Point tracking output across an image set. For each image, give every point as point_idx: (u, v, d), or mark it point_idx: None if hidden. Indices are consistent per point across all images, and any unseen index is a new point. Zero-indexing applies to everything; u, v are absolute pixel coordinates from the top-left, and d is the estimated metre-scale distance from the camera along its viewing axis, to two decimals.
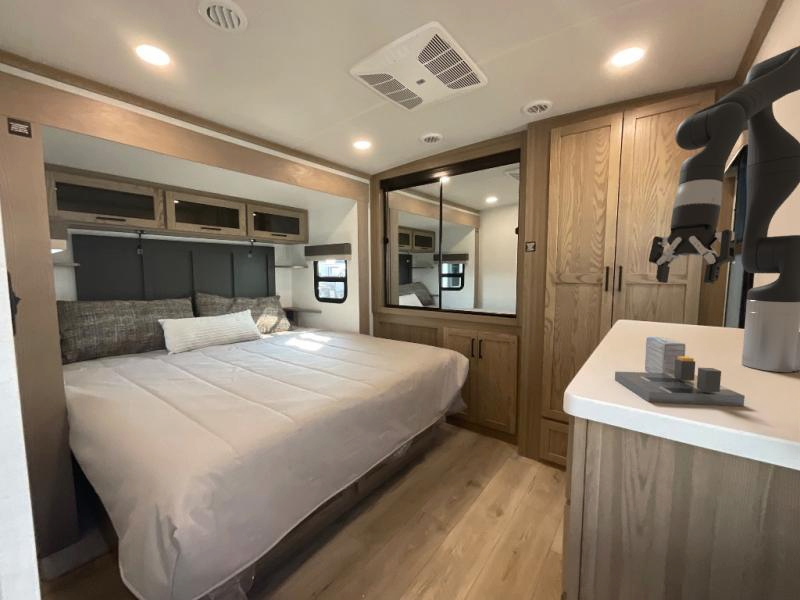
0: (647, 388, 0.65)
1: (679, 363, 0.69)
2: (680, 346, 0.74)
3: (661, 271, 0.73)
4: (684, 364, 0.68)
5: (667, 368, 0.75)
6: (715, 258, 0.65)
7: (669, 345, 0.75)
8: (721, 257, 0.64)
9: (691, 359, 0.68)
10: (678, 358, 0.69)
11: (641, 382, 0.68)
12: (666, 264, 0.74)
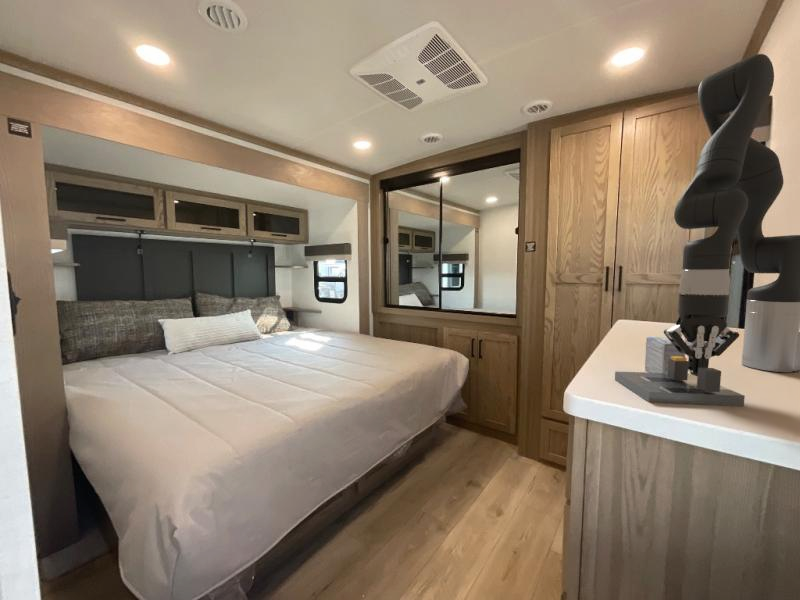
0: (647, 388, 0.65)
1: (672, 363, 0.69)
2: None
3: (701, 365, 0.67)
4: (677, 364, 0.68)
5: (667, 368, 0.75)
6: None
7: (669, 345, 0.75)
8: (716, 353, 0.67)
9: (684, 359, 0.68)
10: (671, 358, 0.70)
11: (641, 382, 0.68)
12: None
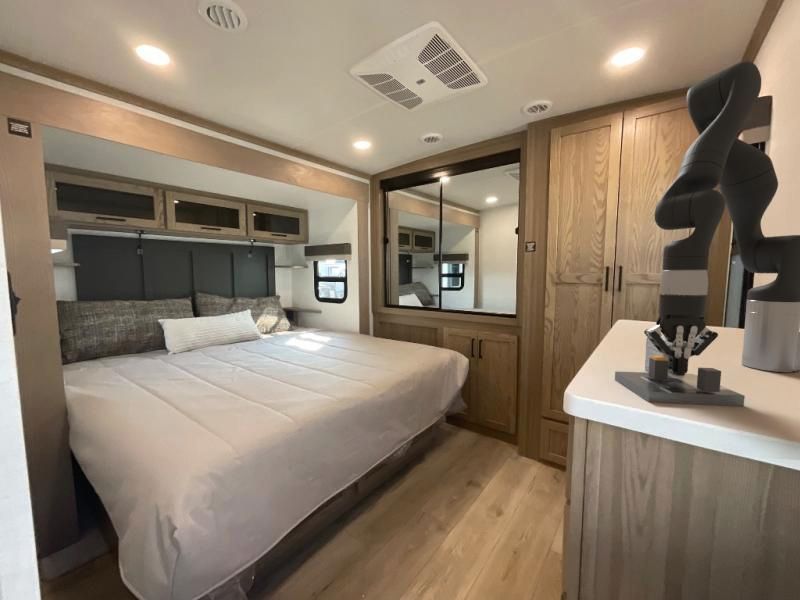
0: (647, 388, 0.65)
1: (653, 362, 0.70)
2: None
3: (680, 364, 0.68)
4: (658, 363, 0.69)
5: None
6: None
7: None
8: (695, 353, 0.67)
9: (664, 358, 0.69)
10: (652, 357, 0.70)
11: (641, 382, 0.68)
12: None
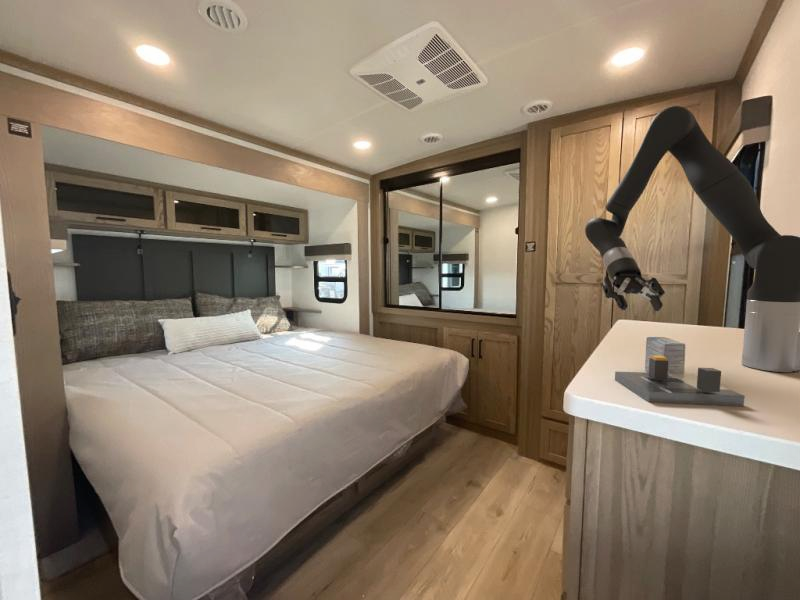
0: (647, 388, 0.65)
1: (653, 362, 0.70)
2: (680, 346, 0.74)
3: None
4: (658, 363, 0.69)
5: None
6: None
7: (669, 345, 0.75)
8: None
9: (664, 358, 0.69)
10: (652, 357, 0.70)
11: (641, 382, 0.68)
12: (652, 296, 0.90)
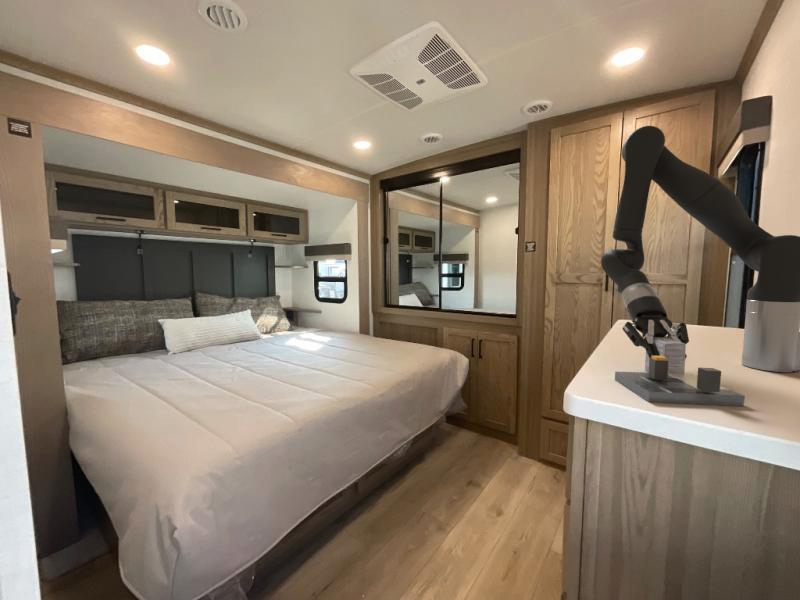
0: (647, 388, 0.65)
1: (653, 362, 0.70)
2: (680, 345, 0.74)
3: None
4: (658, 363, 0.69)
5: (668, 368, 0.75)
6: None
7: (670, 345, 0.75)
8: None
9: (664, 358, 0.69)
10: (652, 357, 0.70)
11: (641, 382, 0.68)
12: None
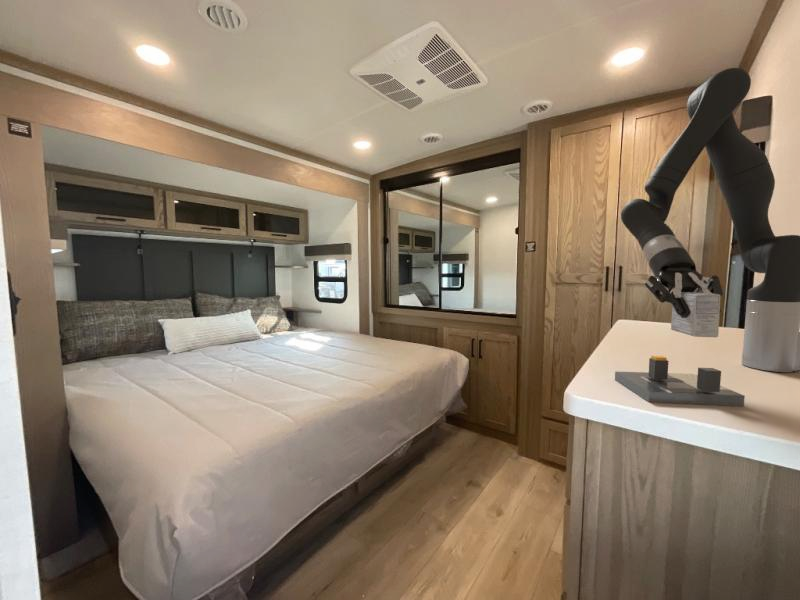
0: (647, 388, 0.65)
1: (653, 362, 0.70)
2: (714, 297, 0.65)
3: None
4: (658, 363, 0.69)
5: (699, 323, 0.66)
6: None
7: (702, 296, 0.65)
8: None
9: (664, 358, 0.69)
10: (652, 357, 0.70)
11: (641, 382, 0.68)
12: None
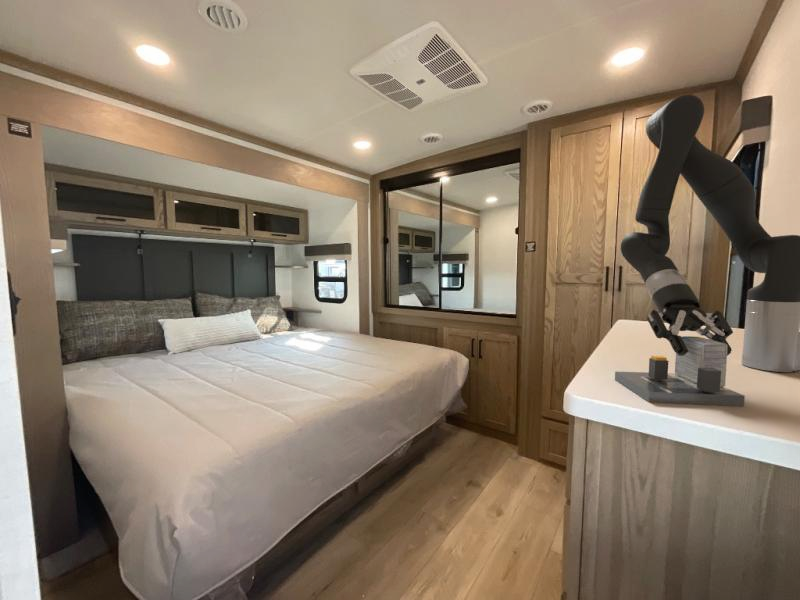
0: (647, 388, 0.65)
1: (653, 362, 0.70)
2: (721, 346, 0.64)
3: None
4: (658, 363, 0.69)
5: None
6: None
7: (710, 346, 0.65)
8: None
9: (664, 358, 0.69)
10: (652, 357, 0.70)
11: (641, 382, 0.68)
12: (715, 337, 0.69)
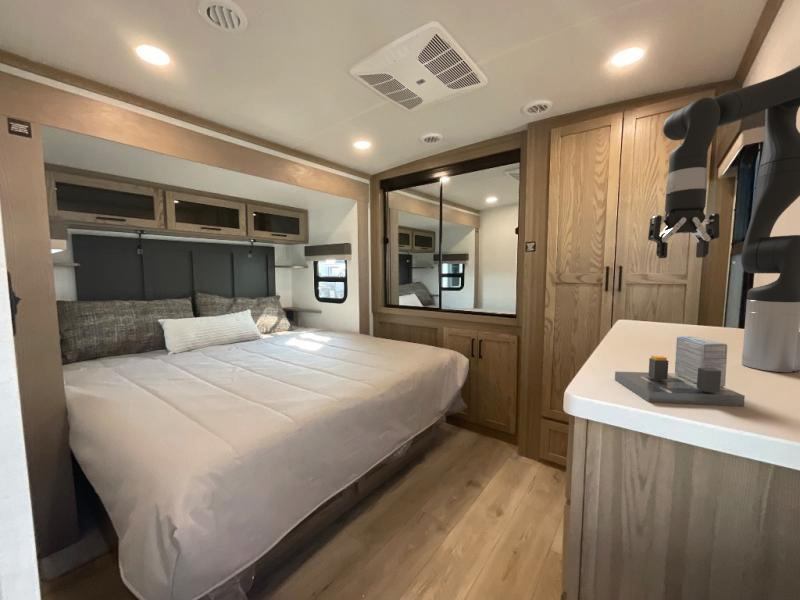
0: (647, 388, 0.65)
1: (653, 362, 0.70)
2: (721, 346, 0.64)
3: (666, 248, 0.81)
4: (658, 363, 0.69)
5: None
6: None
7: (710, 346, 0.65)
8: (715, 236, 0.79)
9: (664, 358, 0.69)
10: (652, 357, 0.70)
11: (641, 382, 0.68)
12: None
